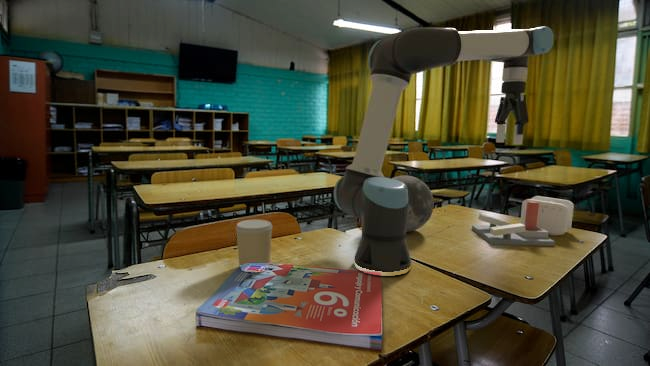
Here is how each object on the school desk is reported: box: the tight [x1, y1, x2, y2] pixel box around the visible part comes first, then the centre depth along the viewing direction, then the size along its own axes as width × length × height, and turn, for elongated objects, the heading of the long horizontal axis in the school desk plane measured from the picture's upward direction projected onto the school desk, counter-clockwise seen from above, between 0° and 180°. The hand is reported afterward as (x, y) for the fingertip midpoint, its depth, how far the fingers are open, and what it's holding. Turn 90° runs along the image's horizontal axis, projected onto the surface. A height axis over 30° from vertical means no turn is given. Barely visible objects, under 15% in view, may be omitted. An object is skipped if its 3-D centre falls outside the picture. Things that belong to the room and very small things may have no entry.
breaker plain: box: [477, 213, 511, 226], centre depth 136 cm, size 10×3×2 cm, turn 90°
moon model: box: [391, 174, 435, 233], centre depth 136 cm, size 20×20×20 cm
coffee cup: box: [235, 218, 273, 266], centre depth 100 cm, size 9×9×12 cm
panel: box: [471, 223, 556, 247], centre depth 131 cm, size 20×18×4 cm
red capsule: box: [525, 201, 539, 231], centre depth 130 cm, size 4×4×11 cm
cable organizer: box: [519, 195, 575, 236], centre depth 139 cm, size 15×11×12 cm
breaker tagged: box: [490, 222, 526, 236], centre depth 125 cm, size 10×3×2 cm, turn 88°
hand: (508, 143), depth 134 cm, fingers open, 13 cm apart
